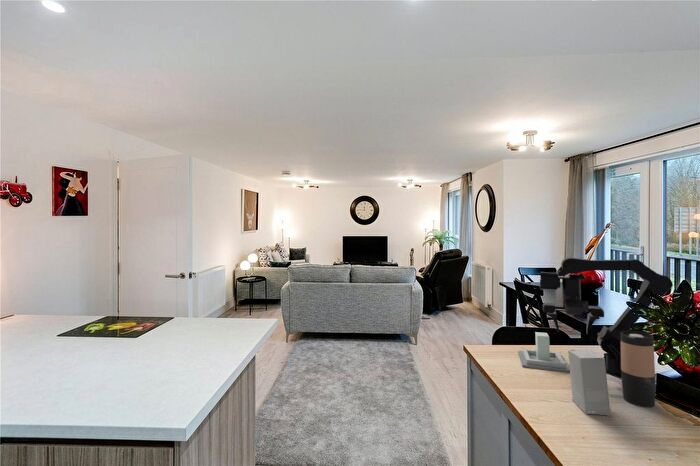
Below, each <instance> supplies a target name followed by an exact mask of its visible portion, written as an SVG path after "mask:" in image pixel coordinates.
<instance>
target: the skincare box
mask: <svg viewBox="0 0 700 466" xmlns="http://www.w3.org/2000/svg"><path fill="white" fill-rule="evenodd" d="M567 354H568V362H569V363H568V365H569V366H570V372H569V373H570V383H571V395H572V396H571V397H572V402H574V403H575V405H577V406H578V407H579V408H580V410H582V411H583V412H584V414H586V415H603V416H611V406H610V397H609V386H608V379H607V378H608V377H607V373H606V367H605V358H603V357H604V356H602V355H600V354H598V353H596V352H595V351H593V350H591V349H567Z"/></svg>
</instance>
